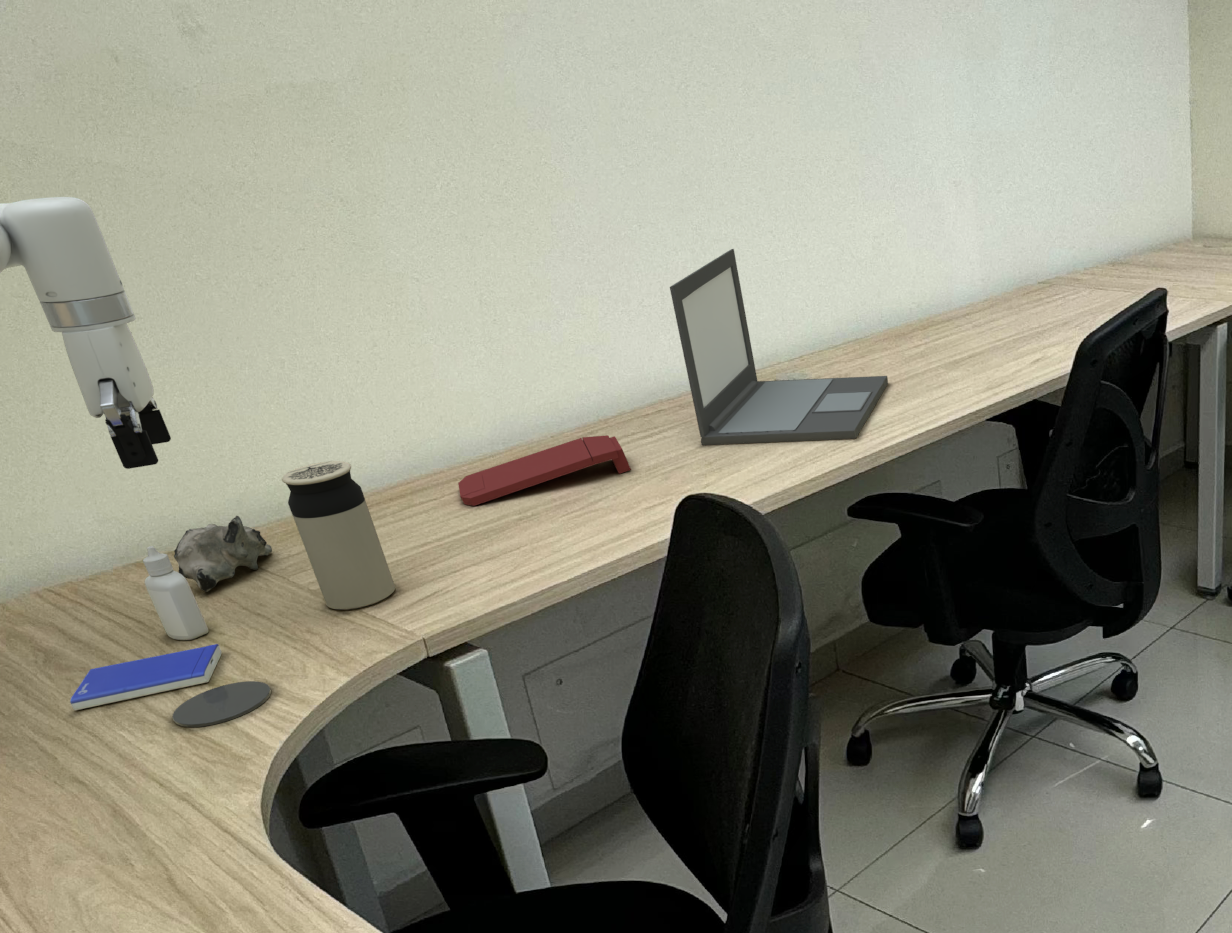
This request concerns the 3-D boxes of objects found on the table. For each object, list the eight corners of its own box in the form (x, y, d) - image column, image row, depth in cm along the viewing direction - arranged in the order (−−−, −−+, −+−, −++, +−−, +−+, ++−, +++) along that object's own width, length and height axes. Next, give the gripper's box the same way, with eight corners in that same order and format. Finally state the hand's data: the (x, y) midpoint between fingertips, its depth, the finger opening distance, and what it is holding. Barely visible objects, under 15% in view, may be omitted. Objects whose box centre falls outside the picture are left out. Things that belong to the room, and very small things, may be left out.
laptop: (855, 439, 203) (832, 279, 191) (700, 446, 203) (667, 286, 191) (888, 383, 235) (870, 243, 223) (753, 389, 235) (728, 249, 223)
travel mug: (403, 596, 152) (359, 469, 144) (334, 617, 147) (285, 487, 139) (387, 579, 157) (345, 455, 149) (321, 598, 152) (273, 471, 144)
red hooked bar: (475, 528, 182) (633, 473, 191) (461, 501, 179) (621, 446, 188) (470, 504, 191) (621, 453, 200) (457, 478, 189) (610, 427, 198)
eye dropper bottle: (166, 647, 141) (126, 559, 136) (167, 630, 145) (128, 544, 140) (209, 636, 143) (172, 549, 138) (209, 620, 148) (172, 535, 142)
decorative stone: (199, 554, 165) (193, 490, 161) (277, 556, 169) (272, 493, 166) (167, 603, 152) (159, 534, 148) (252, 604, 156) (246, 537, 152)
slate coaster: (167, 736, 122) (166, 733, 122) (180, 699, 130) (178, 696, 129) (267, 711, 126) (266, 708, 126) (274, 676, 134) (273, 673, 133)
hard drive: (68, 700, 127) (202, 672, 132) (90, 667, 134) (217, 641, 139) (74, 712, 128) (208, 683, 133) (96, 679, 134) (222, 653, 139)
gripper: (64, 303, 135) (123, 441, 142) (28, 331, 121) (95, 482, 129) (143, 294, 138) (196, 429, 145) (116, 321, 125) (177, 468, 132)
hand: (149, 454), depth 137 cm, fingers open, 9 cm apart
